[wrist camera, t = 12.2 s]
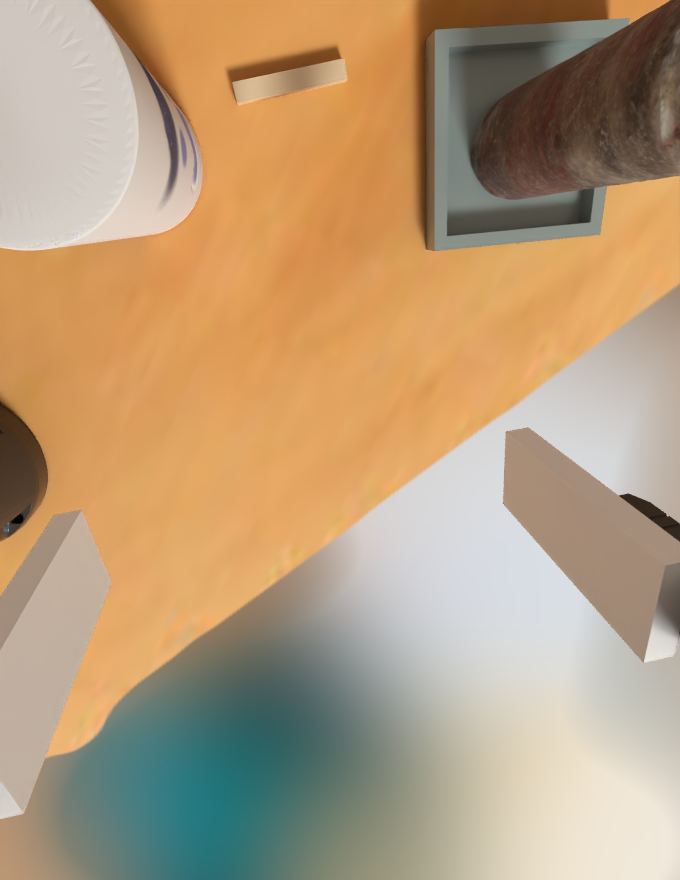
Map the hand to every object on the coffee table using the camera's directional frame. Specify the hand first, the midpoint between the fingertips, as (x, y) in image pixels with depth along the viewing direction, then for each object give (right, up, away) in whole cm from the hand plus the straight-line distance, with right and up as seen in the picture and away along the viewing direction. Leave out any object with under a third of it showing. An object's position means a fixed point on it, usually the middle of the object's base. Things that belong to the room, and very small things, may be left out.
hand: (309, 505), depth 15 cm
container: (-14, +23, +20) cm, 34 cm away
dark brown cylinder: (+15, +25, +23) cm, 37 cm away
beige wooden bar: (-3, +28, +20) cm, 34 cm away
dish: (+15, +25, +23) cm, 37 cm away
